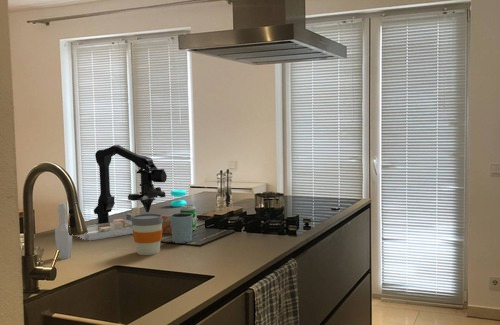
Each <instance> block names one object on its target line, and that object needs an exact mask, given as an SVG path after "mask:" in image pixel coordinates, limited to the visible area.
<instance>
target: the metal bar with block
mask: <svg viewBox="0 0 500 325" xmlns="http://www.w3.org/2000/svg"><path fill="white" fill-rule="evenodd" d="M135 215H141V209H140V207H131V213H129V212H128V213H127V212H126V213H125V220H129V221H132V217H133V216H135Z"/></svg>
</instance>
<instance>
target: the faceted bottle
mask: <svg viewBox="0 0 500 325" xmlns="http://www.w3.org/2000/svg"><path fill="white" fill-rule="evenodd" d="M67 212H68V208H67V205H66V202H60V203H58V206H57V214H58V225H57V226H56V228H55V229H54V238H55V245H56V251H57V250H60V254H59V257H58V259H59V260H65V259H71V258H72V249H73V248H72V247H73V235H72V236H70V235H69V233H68V225H69V224H68V220H67V219H68V217H67Z"/></svg>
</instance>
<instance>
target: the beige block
mask: <svg viewBox="0 0 500 325" xmlns="http://www.w3.org/2000/svg"><path fill="white" fill-rule="evenodd" d="M111 222H112V223H110V229H112V230H114V229H121V228H123V223H122V222H113V221H111Z"/></svg>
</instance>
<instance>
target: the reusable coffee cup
mask: <svg viewBox="0 0 500 325" xmlns="http://www.w3.org/2000/svg"><path fill="white" fill-rule="evenodd" d="M162 216H163V215H162V214H160V213H140V215H135V216H133V217H132V225H133V234H132V235H133V240H134V242H135V245H136V253H137V255H140V256H151V255H157V254H159V253H160V252H161V241H162V237H163V233H162V223H163V220H162Z"/></svg>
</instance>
